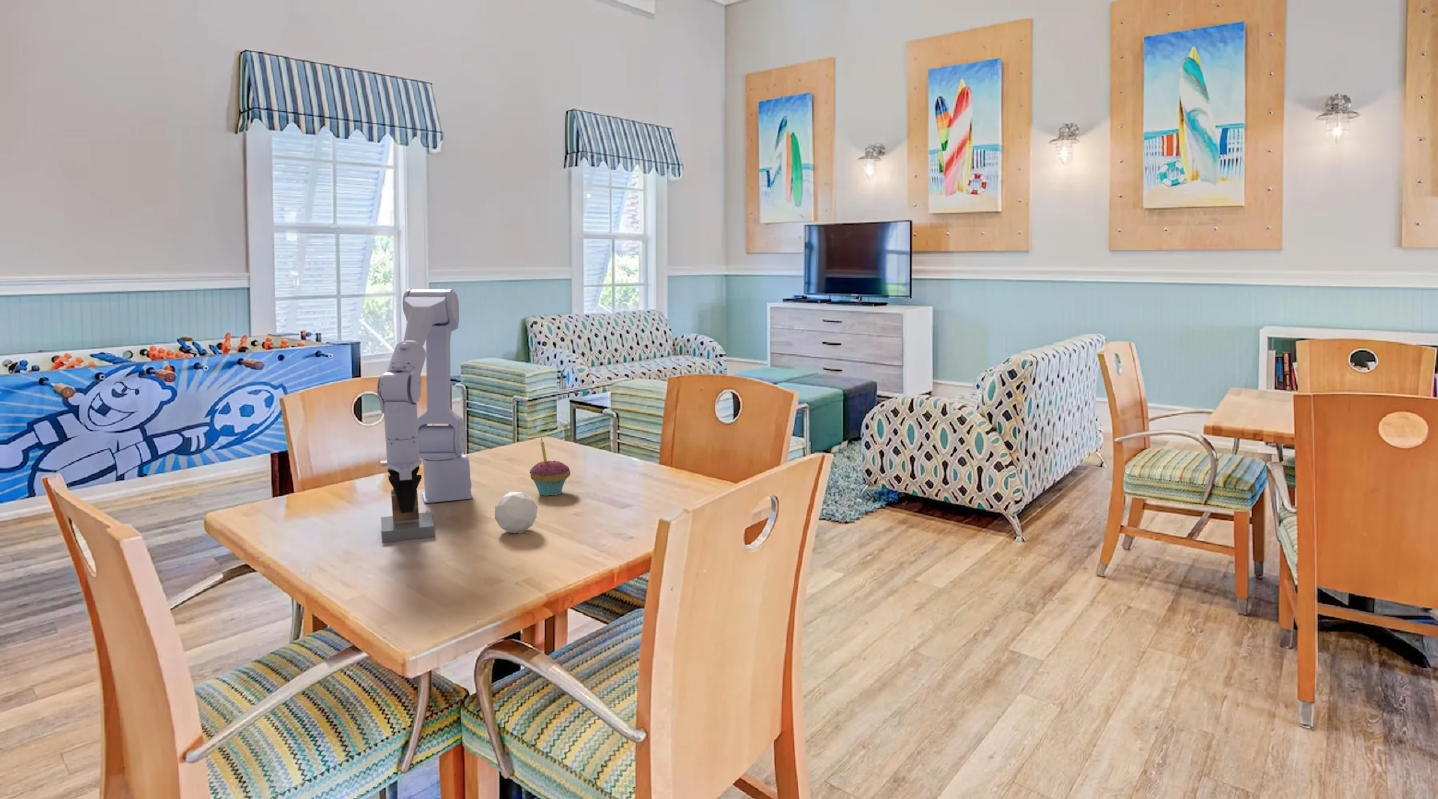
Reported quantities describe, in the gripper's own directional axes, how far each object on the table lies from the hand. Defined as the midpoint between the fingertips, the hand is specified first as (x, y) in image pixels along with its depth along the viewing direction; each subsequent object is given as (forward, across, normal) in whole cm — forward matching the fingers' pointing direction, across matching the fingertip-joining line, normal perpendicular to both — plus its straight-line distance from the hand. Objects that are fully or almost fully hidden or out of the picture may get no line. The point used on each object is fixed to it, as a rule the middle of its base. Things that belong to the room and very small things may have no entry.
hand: (406, 508), depth 160 cm
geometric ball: (+5, +7, +19) cm, 21 cm away
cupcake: (+5, -16, +30) cm, 34 cm away
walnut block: (+2, 0, 0) cm, 2 cm away
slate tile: (+5, 0, 0) cm, 5 cm away
